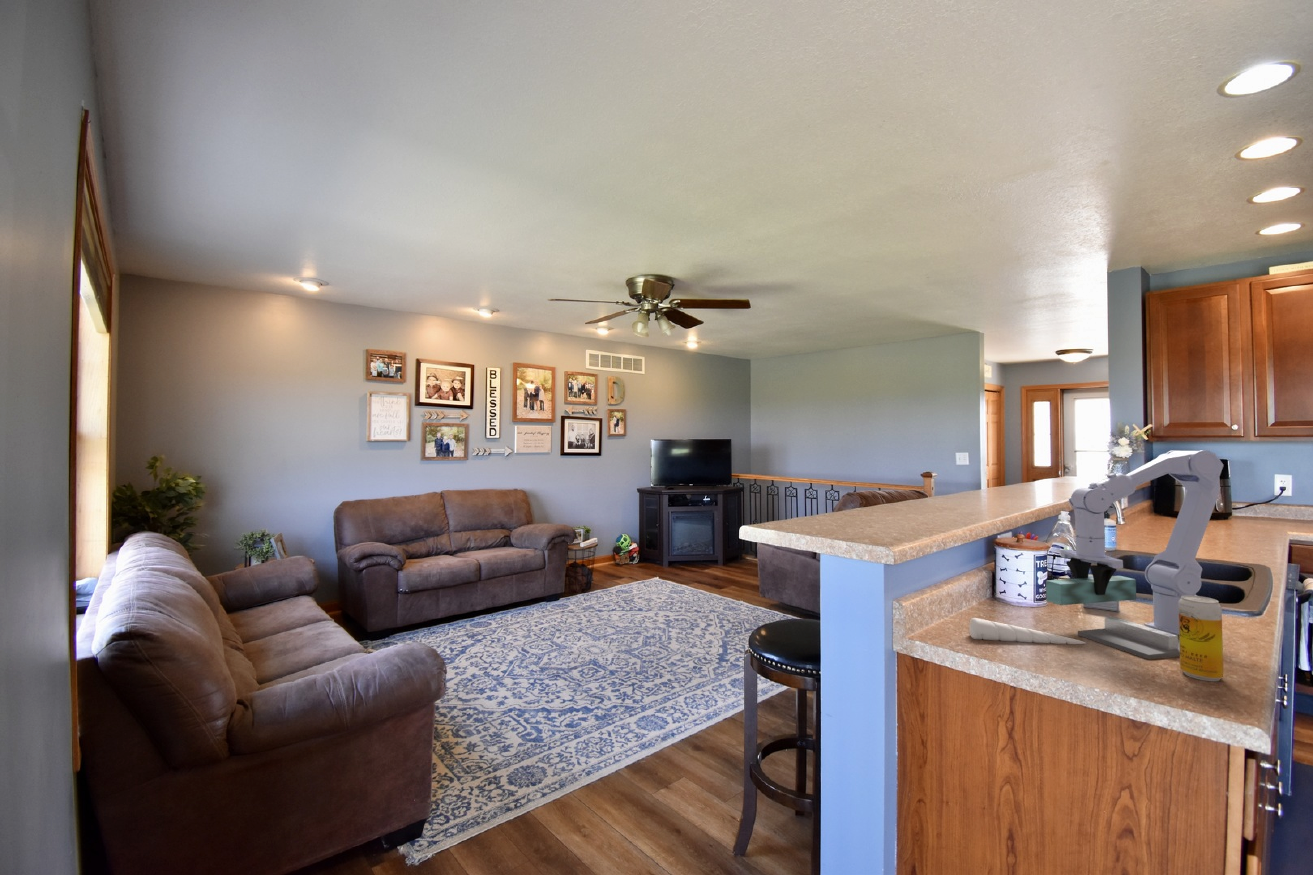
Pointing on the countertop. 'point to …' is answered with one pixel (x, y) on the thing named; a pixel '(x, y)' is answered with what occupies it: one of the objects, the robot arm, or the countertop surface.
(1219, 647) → the beer can
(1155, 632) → the ridge stand
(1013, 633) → the unicorn horn
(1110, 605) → the medicine box
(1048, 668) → the countertop surface
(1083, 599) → the teal wavy bar
